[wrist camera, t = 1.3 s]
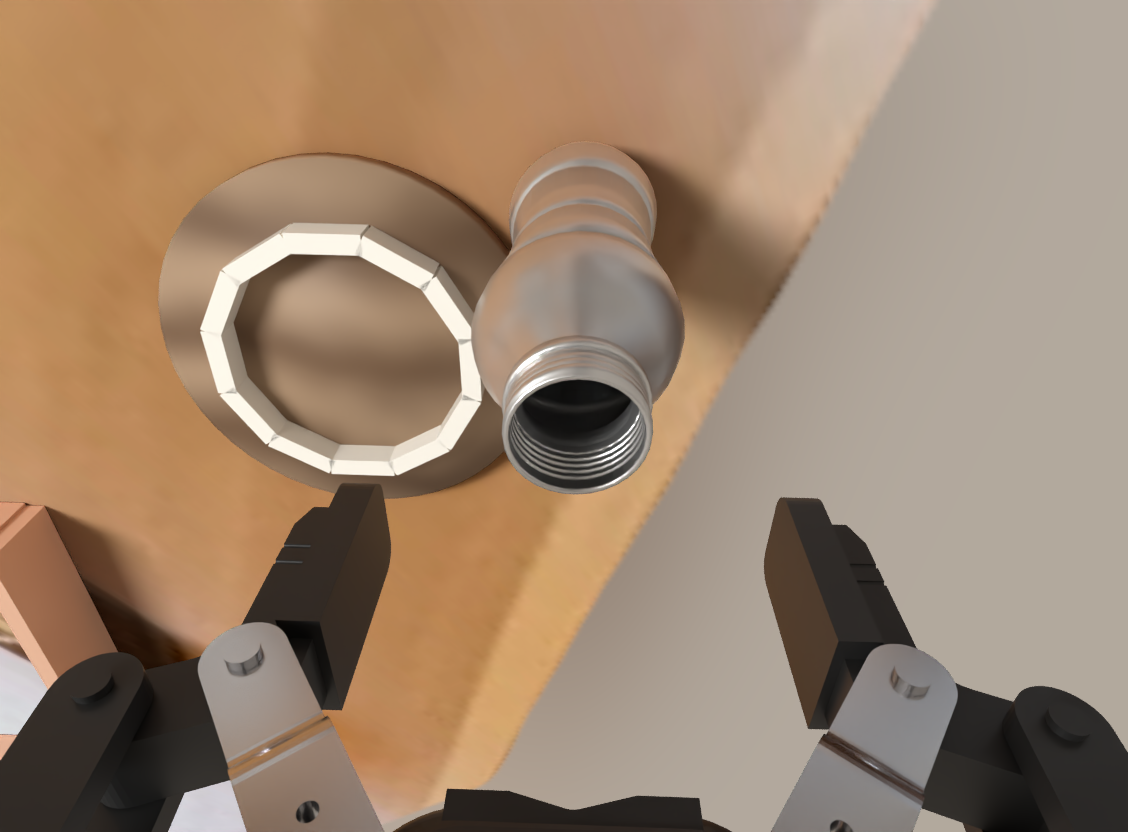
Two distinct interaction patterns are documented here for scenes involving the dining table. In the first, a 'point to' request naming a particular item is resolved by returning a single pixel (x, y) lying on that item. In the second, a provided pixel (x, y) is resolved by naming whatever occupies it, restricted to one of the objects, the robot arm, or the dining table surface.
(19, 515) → the peach open square frame
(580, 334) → the plastic bottle
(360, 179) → the round tan coaster
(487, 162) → the dining table surface
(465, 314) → the ring
